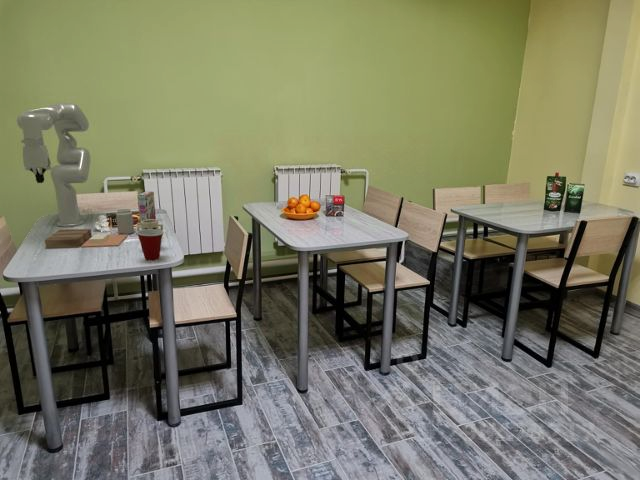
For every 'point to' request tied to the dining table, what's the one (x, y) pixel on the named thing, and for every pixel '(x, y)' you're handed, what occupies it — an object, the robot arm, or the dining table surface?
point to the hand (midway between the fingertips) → (40, 182)
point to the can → (125, 221)
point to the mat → (107, 241)
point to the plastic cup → (150, 243)
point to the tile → (99, 238)
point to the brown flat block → (68, 238)
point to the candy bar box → (146, 206)
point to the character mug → (150, 224)
